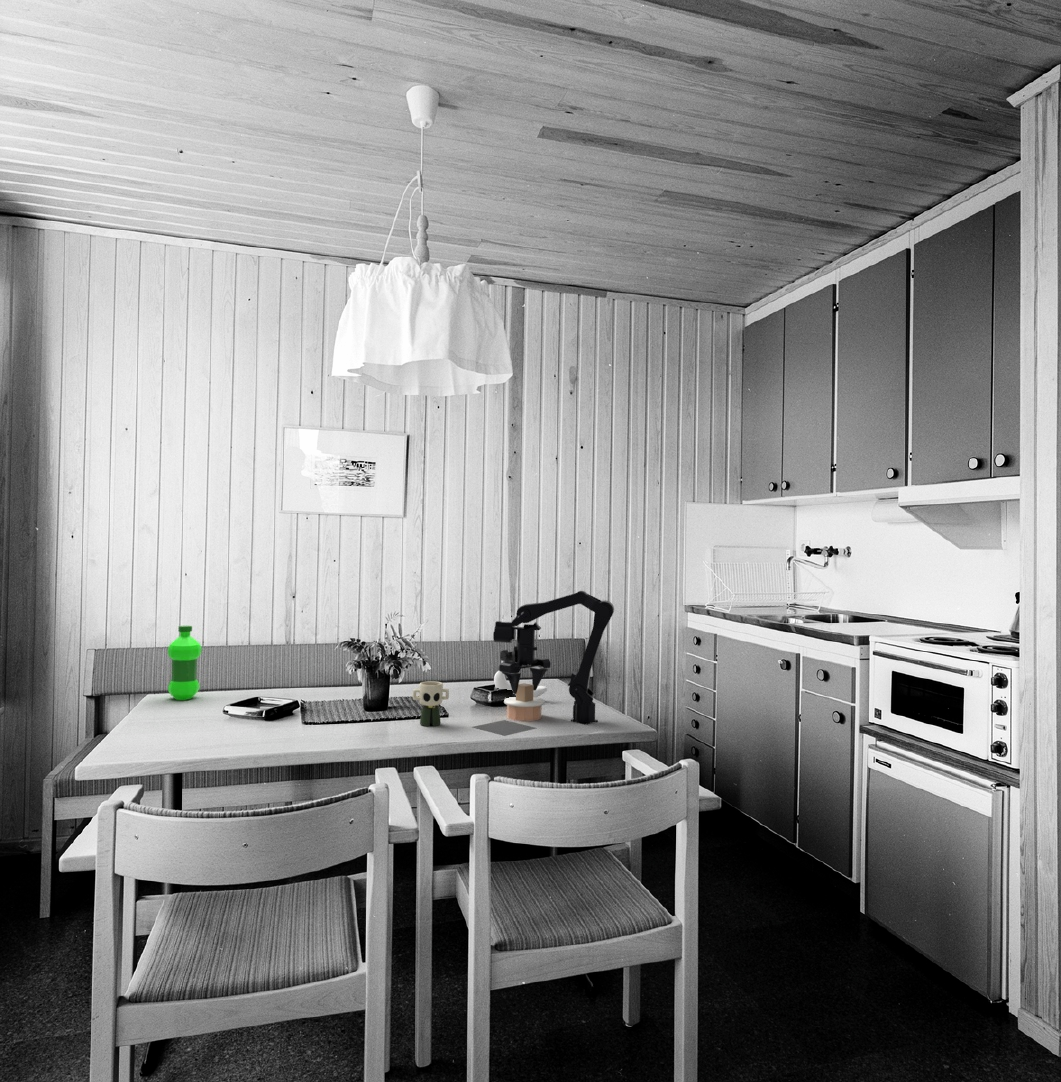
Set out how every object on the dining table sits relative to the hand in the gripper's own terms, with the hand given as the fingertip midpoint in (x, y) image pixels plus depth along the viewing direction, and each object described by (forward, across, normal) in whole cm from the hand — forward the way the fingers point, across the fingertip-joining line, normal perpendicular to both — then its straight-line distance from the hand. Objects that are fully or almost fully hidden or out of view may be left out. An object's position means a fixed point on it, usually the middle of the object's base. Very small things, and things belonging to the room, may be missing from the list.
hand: (524, 692), depth 250 cm
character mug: (+9, +29, -12) cm, 33 cm away
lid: (+4, 0, 0) cm, 4 cm away
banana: (+9, -19, -20) cm, 29 cm away
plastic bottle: (+8, +67, -99) cm, 120 cm away
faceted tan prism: (+8, 0, 0) cm, 8 cm away
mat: (+8, +15, +6) cm, 18 cm away
